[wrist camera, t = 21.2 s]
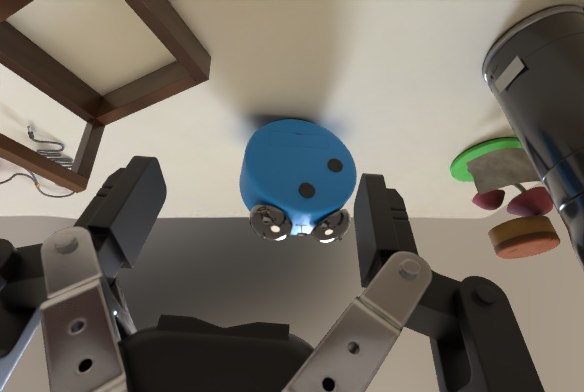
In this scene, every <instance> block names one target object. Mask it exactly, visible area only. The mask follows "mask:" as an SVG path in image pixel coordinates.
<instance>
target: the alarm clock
mask: <svg viewBox="0 0 584 392" xmlns="http://www.w3.org/2000/svg"><path fill="white" fill-rule="evenodd" d="M356 177H357V176H356V167H355V163H354V161H353V158H352V156H351V154H350V152H349V150H348V149H347V148H346V146H345V145H344V144H343V143H342V142H341V141H340V140H339V139H338V138H337V137H336V136H335V135H334V134H332V133H331V132H330V131H328V130H326V129H325V128H323V127H321V126H319V125H316V124H314V123H311V122H308V121H303V120H296V119H284V120H278V121H274V122H271V123H269V124H266V125H265V126H263V127H261V128H260V129H258V130H257V131H256V132H255V133H254V134H253V136H252V137H251V138H250V140H249V142H248V144H247V147H246V150H245V155H244V160H243V165H242V170H241V175H240V192H241V196H242V199H243V201H244V203H245V205H246V207H247V208H248V210H249V211H250V215H249V221H250V224H251V227H252V228H253V230H254V231H255V232H256V234H258V235H259V236H260V237H262V238H264V239H266V240H272V241H279V240H282V239H284V238H286V237H287V236H289V234H294V235H298V236H307V234H308V233H311V235H312V236H313V237H314V239H316V240H317V241H319V242H324V243H328V242H332V241H335V240H337V239H339V240H342V238H341V237H342V236H343V235H344V234H345V233H346V232H347V231H348V229H349V226H350V223H351V217H350V214H349V212H348V210H347V209H343V210H340V209H341V208H342V207H343V206H344V204H345V203H346V202H347V201H348V199H349V198H350V196H351V195H352V193H353V191H354V188H355V185H356Z"/></svg>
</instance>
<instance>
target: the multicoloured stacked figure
mask: <svg viewBox="0 0 584 392" xmlns="http://www.w3.org/2000/svg"><path fill="white" fill-rule="evenodd" d="M450 171H451V174H452V176H453V177H454V178H455V179H457V180H460V181H474V183H475V186H476V188H477V191H478V193H477V194H476V195H475V196H474V198H473V200H472V202H473V203H474V204H476V205H477V206H479V207H481V208H483V209H486V210H495V209H497V208H499V207H500V206H501V204H502V203H503V200H504V196H505V191H503V190H498V189H499V188H502V187H505V186H509V185H514V186H515V187H516V188H518V189H519V190H520V191H521V192H522V193H521V194H519V195H518V196H516V197H515V198H513V199H512V200H511V201H510V203H509V204H508V207H507V212H508V213H510V214H516V215H520V216H522V217H521V218H516V219H513V220H510V221H507V222H504V223H502V224H500V225H498V226H496V227H494V228H492V229H491V230H490V231H489V232H488V235H489V238H490V240H491V242H492V245H493V247H494V250H495V252H496V254H497V256H498V257H499V258H503V259H515V258H523V257H528V256H533V255H536V254H540V253H543V252H546V251H549V250H551V249H553V248H555V247H557V246H558V245H559V244H560V239H559V237H558V235H557V233H556V231H555V229H554V227H553V225H552V224H551V222H550V220H549V218H548V217H546V216H543V215H545V214H547V213H548V212H550V211H551V210H552V208H553V202H552V200H551V198H550V196H549V194H548V193H547V191H546V189H545V187H535V188H532V189H529V190H527V191H526V189H525V188H524V187H523V186H522V185H521V184H519V183H523V182H531V181H541V180H540V178H539V176H538V175H537V173H536V171H535V169H534V167H533V165H532V164H531V162H530V160H529V158H528V156H527V154H526V153H525V151H524V149H523V147H522V145H521V143H520V142H519V140H518V139H516V138H501V139H495V140H491V141H488V142H485V143H482V144H479V145H477V146H475V147H473V148H471V149H469V150H467V151H466V152H464V153H463V154H461V155H460V156H459V157H458V158H457V159H456V160H455V161H454V162H453V164H452V165H451V169H450Z"/></svg>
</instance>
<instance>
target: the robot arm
mask: <svg viewBox="0 0 584 392" xmlns="http://www.w3.org/2000/svg"><path fill="white" fill-rule="evenodd" d="M482 73H483V78H484V80H485V81H486V83H487V85H488V86H489V88H490V89H491V91H492V93H493V94H494V96H495V97H496V99H497V101H498V103H499V105H500V107H501V109H502V110H503V112H504V114H505V116H506V118H507V120H508V121H509V123H510V125H511V127H512V129H513V131H514V132H515V134H516V136H517V138H518V140H519V142H520V143H521V145H522V147H523V149H524V151H525V153H526V154H527V156H528V158H529V160H530V162H531V164H532V165H533V167H534V169H535V171H536V173H537V175H538V176H539V178H540V180H541V182H542V183H543V185H544V187H545V189H546V191H547V193H548V194H549V196H550V198H551V200H552V202H553V204H554V205H555V207H556V209H557V211H558V213H559V214H560V216H561V218H562V220H563V222H564V224H565V226H566V227H567V230H568V233H569V236H570V240H571V243H572V247H573V250H574V252H575V254H576V257H577V259H578V261H579V263H580V264H581V266H582V268H583V270H584V9H582V8H580V7H577V6H571V5H565V6H558V7H553V8H550V9H547V10H544V11H541V12H539V13H537V14H534V15H532V16H530V17H529V18H527V19H525V20H523V21H522V22H520V23H519V24H517V25H516V26H514V27H513V28H512V29H511V30H509V31H508V32H507V33H506V34H505V35H504V36H502V37H501V38H500V39H499V41H498V42H497V43H496V44H495V45H494V46H493V48H492V49H491V50H490V52H489V53H488V55H487V57H486V59H485V61H484V64H483V70H482ZM166 193H167V190H166V184H165V181H164V178H163V175H162V171H161V168H160V165H159V162H158V160H157V158H155V157H145V156H134V157H133V158H132V159H131V161H130V162H129V164H128V165H127V167H126V168H120V169H118V170H117V171H116V172H114V173H113V174H111V175H110V176H109V177H108V178H107V180H106V181H105V183H104V184H103V185H102V188H100V190H99V191H98V192H97V194H96V196H95V197H94V198H93V199H92V201H91V202H90V204H89V205H88V206H87V208H86V209H85V211H84V212H83V213H82V215H81V216H80V218H79V219H78V220H77V222H76V223H75V225H74V226H73V227H67V228H64V229H61V230H59V231H57V232H55V233H53V234H52V235H50V236H49V237H48V238H47V239H46V240H45V241H44V243H42V244H37V245H31V246H26V247H20V248H15V247H14V246H13V245H12V244H11V243H10V242H9V241H8V240H5V239H0V392H1V390H2V388H3V387H4V385H5V383H6V381H7V380H8V378H9V376H10V374H11V373H12V371H13V369H14V367H15V366H16V364H17V362H18V360H19V359H20V357H21V355H22V353H23V351H24V350H25V348H26V346H27V345H28V343H29V341H30V339H31V338H32V336H33V334H34V332H35V330H36V329H37V327H38V325H39V323H40V322H41V323H42V332H43V339H44V347H45V354H46V362H47V369H48V377H49V385H50V392H365V391H366V389H367V388H368V386H369V384H370V383H371V381H372V379H373V378H374V376H375V375H376V373H377V371H378V370H379V368H380V366H381V365H382V363H383V361H384V360H385V358H386V356H387V355H388V353H389V351H390V350H391V348H392V346H393V345H394V343H395V342H396V340H397V338H398V337H399V335H400V333H401V331H402V329H403V327H407V328H409V329H412V330H414V331H416V332H419V333H421V334H424V335H426V336H429V337H430V343H431V349H432V354H433V359H434V365H435V370H436V375H437V380H438V386H439V391H440V392H545V391H544V389H543V386H542V384H541V381H540V379H539V376H538V374H537V371H536V369H535V366H534V364H533V362H532V359H531V356H530V354H529V351H528V349H527V346H526V343H525V341H524V339H523V336H522V333H521V331H520V328H519V326H518V323H517V321H516V318H515V316H514V313H513V311H512V308H511V306H510V303H509V301H508V298H507V296H506V295H505V293H504V292H503V291H502V289H501V288H499V287H498V286H497V285H496V284H495V283H493V282H492V281H490V280H488V279H486V278H483V277H479V276H470V277H467V278H465V279H464V280H463V281H462V282H460V281H457V280H454V279H451V278H448V277H446V276H443V275H440V274H438V273H436V272H434V271H432V270H431V268H430V266H429V265H428V263H427V262H426V261H425V260H424V259H423V258H421V257H420V256H419V255H418V252H417V248H416V244H415V241H414V237H413V233H412V230H411V226H410V222H409V221H408V215H407V212H406V208H405V204H404V200H403V198H402V197H401V196H400V194H399V193H398V192H397V191H396V190H395V189H388V188H386V185H385V181H384V177H383V175H378V174H365V173H363V174H362V176H361V180H360V184H359V187H358V191H357V195H356V199H355V203H354V222H355V231H356V240H357V249H358V259H359V267H360V276H361V285H362V287H365V288H366V289H365V290H364V292H363V293H362V294H361V295H360V296H359V297H356V298H355V299H354V300H353V301H352V302H351V303H350V305H349V306H348V307H347V308H346V310H345V311H344V312H343V314H342V315H341V316H340V318H339V319H338V320H337V321H336V323H335V324H334V325H333V326H332V328H331V329H330V330H329V332H328V333H327V334H326V335H325V337H324V338H323V339H322V341H321V342H320V343H319V344H318V346H317V347H316V348H315V349H314V348H313V347H312V346H311V345H310V344H308V343H307V342H305V341H304V340H303V339H301V338H299V337H297V336H295V335H293V334H290V333H289V324H276V323H263V322H256V323H251V324H244V325H239V326H233V327H228V328H222V327H219V326H215V325H213V324H210V323H207V322H205V321H202V320H199V319H197V318H194V317H185V316H173V315H161V316H160V319H159V322H158V324H156V325H152V326H149V327H146V328H143V329H141V330H139V331H137V330H136V328H135V326H134V324H133V322H132V319H131V317H130V314H129V311H128V308H127V305H126V302H125V299H124V295H123V292H122V289H121V286H120V283H119V280H118V278H117V276H116V275H117V273H118V271H119V269H120V268H130V269H132V268H133V266H134V264H135V262H136V260H137V258H138V255H139V254H140V252H141V249H142V247H143V245H144V243H145V241H146V239H147V237H148V235H149V233H150V231H151V229H152V226H153V225H154V223H155V221H156V218H157V216H158V214H159V212H160V210H161V208H162V206H163V204H164V202H165V199H166Z"/></svg>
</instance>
